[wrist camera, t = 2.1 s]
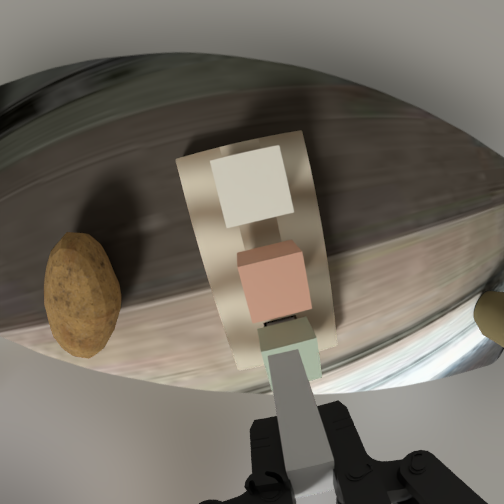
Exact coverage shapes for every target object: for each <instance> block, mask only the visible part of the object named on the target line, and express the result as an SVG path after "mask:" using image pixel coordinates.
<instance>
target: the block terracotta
mask: <svg viewBox="0 0 504 504" xmlns="http://www.w3.org/2000/svg"><path fill="white" fill-rule="evenodd" d="M237 268H238V272H239V275H240V279H241V283H242V287H243V290H244V294H245V298H246V301H247V305H248V309H249V312H250V316H251V320H252V323H257V322H262V321H266V320H270V319H274V318H278V317H282V316H286V315H290V314H294V313H298V312H301V311H305V310H309V309H312V305H311V299H310V293H309V287H308V281H307V275H306V269H305V264H304V258H303V253H302V251H301V249H300V248H299V247H298V246H297V245H296V244H295V243H294V241H293V240H292V239H291V240H287V241H283V242H279V243H275V244H271V245H267V246H262V247H258V248H254V249H250V250H246V251H242V252H238V253H237Z"/></svg>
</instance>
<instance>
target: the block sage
mask: <svg viewBox="0 0 504 504" xmlns="http://www.w3.org/2000/svg"><path fill="white" fill-rule="evenodd" d="M257 330H258V337H259V343H260V349H261V354H262V358H263V361H264V365H265V368H266V372H267V375H268V379H269V382H270V386H271V389H272V390H273V387H272V381H271V375H270V368H269V362H268V356H269V355H274V354H278V353H283V352H287V351H291V350H296V349H298V350H299V353H300V356H301V359H302V362H303V365H304V368H305V371H306V374H307V377H308V380H309V381H311V380H315V379H318V378H322V373H321V365H320V357H319V350H318V342H317V337H316V335H315V333H314V331H313V329H312V327H311V325H310V323H309V321H308V319H307V317H302V318H298V319H295V318H294V317H291V318H288V319H284V320H280V321H276V322H272V323H267V327H262V328H258V329H257Z"/></svg>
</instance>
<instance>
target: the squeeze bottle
mask: <svg viewBox="0 0 504 504" xmlns="http://www.w3.org/2000/svg"><path fill="white" fill-rule="evenodd" d="M474 320H475V322H476V324H477V325H478V327H479V329H480V331H481V332H482V334H483V335H484V336H486V337H488V338H489V339H491V340H493V341H494V342H496V343H498V344H499V345H501V346H502V347H504V292H495V291H487V292H485V293H484V294H483V295H482V296H481V297H480V299H479V300H478V302H477V304H476V307H475V310H474Z"/></svg>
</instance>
